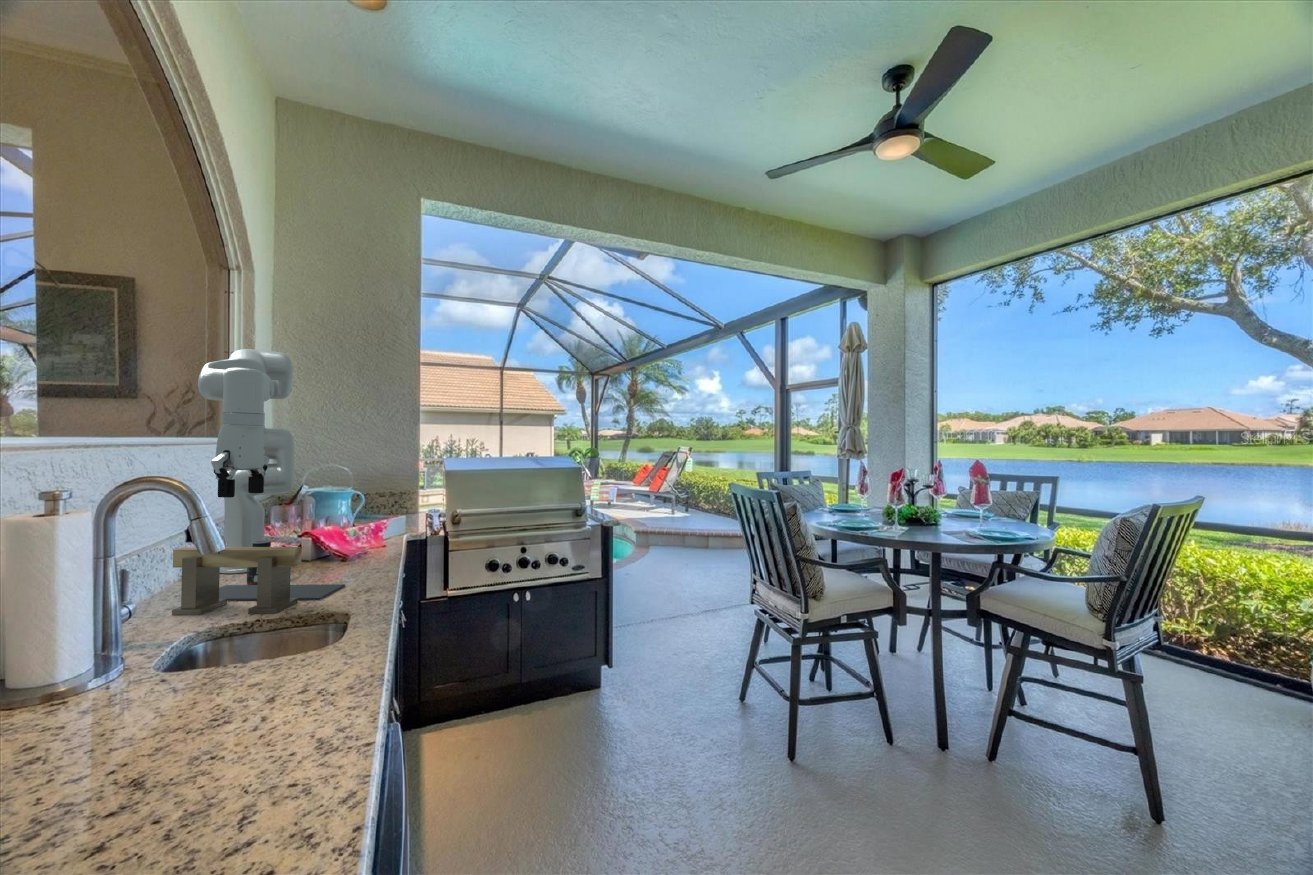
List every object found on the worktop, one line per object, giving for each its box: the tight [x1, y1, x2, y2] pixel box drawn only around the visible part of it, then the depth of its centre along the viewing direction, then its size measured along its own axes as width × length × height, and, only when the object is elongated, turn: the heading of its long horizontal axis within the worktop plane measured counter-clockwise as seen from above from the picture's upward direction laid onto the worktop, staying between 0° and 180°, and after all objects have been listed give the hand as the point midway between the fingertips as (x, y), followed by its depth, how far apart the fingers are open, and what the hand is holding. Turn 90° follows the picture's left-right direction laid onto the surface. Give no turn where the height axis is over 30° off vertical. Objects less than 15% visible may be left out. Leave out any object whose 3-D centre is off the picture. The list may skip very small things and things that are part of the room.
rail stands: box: [171, 557, 299, 616], centre depth 120 cm, size 8×22×12 cm, turn 95°
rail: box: [172, 546, 302, 568], centre depth 120 cm, size 3×26×4 cm, turn 95°
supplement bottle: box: [246, 540, 272, 585], centre depth 141 cm, size 6×6×11 cm
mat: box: [219, 583, 346, 602], centre depth 132 cm, size 12×30×1 cm, turn 95°
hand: (241, 495), depth 121 cm, fingers open, 9 cm apart
